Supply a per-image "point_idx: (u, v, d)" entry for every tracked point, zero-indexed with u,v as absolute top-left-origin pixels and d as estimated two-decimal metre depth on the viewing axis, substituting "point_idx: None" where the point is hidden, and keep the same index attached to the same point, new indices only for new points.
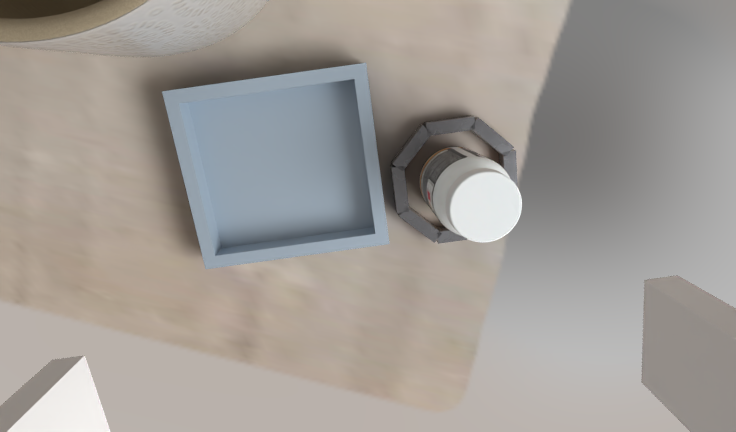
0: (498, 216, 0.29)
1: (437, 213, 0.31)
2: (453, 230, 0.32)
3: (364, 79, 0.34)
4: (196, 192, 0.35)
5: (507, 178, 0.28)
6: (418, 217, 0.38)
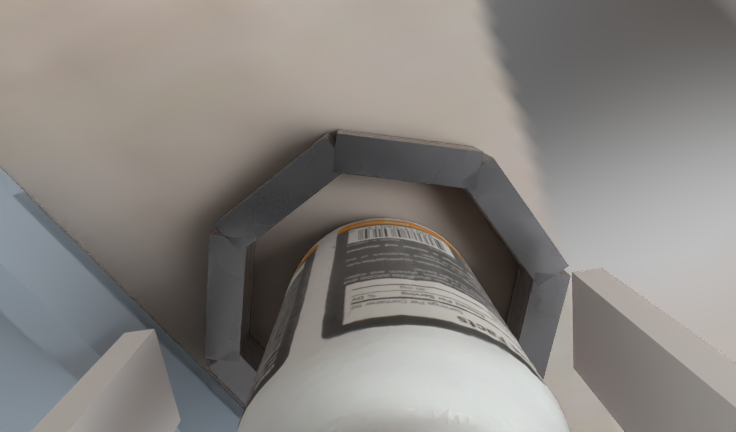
0: None
1: None
2: None
3: None
4: None
5: None
6: None
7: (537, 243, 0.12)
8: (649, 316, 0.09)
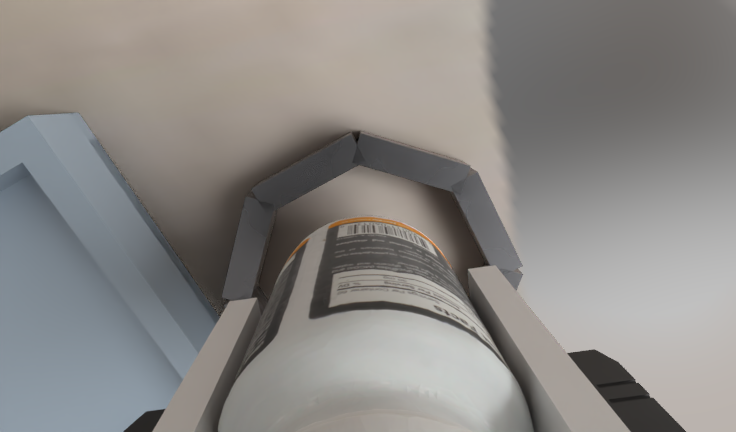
0: None
1: None
2: None
3: (45, 154, 0.14)
4: None
5: None
6: None
7: (501, 244, 0.16)
8: (512, 307, 0.10)
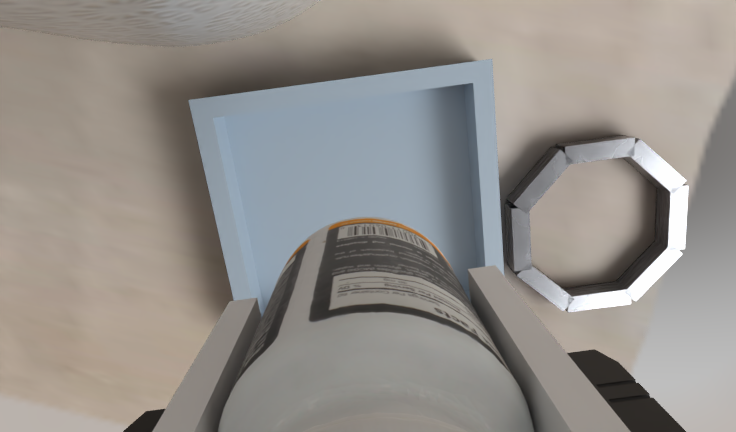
0: None
1: None
2: None
3: (488, 83, 0.23)
4: (234, 245, 0.24)
5: None
6: (543, 277, 0.27)
7: (680, 231, 0.26)
8: (512, 307, 0.10)
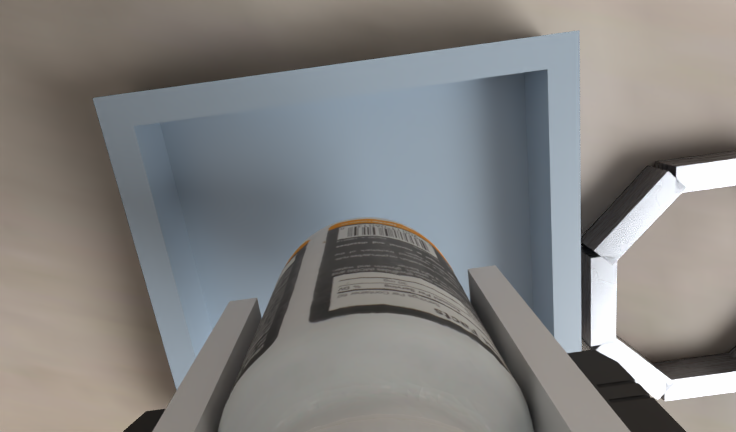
0: None
1: None
2: None
3: (571, 70, 0.14)
4: (176, 318, 0.16)
5: None
6: (632, 353, 0.19)
7: None
8: (512, 307, 0.10)
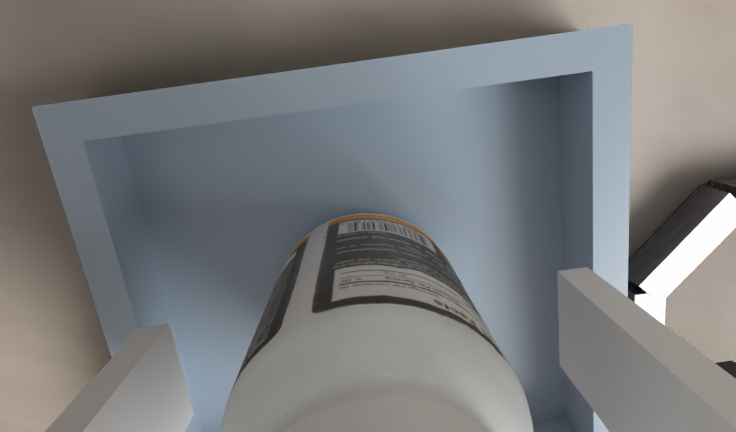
0: None
1: None
2: None
3: (621, 72, 0.12)
4: None
5: None
6: None
7: None
8: (629, 314, 0.09)
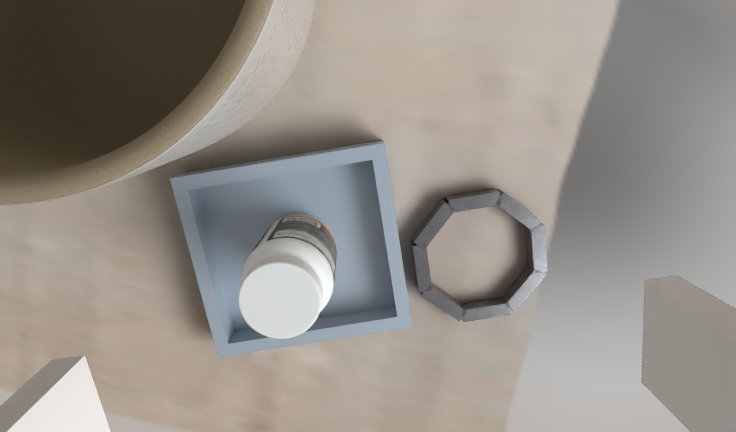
0: (297, 303, 0.26)
1: None
2: None
3: (383, 160, 0.32)
4: (206, 279, 0.33)
5: (281, 263, 0.25)
6: (442, 296, 0.36)
7: (542, 259, 0.35)
8: None
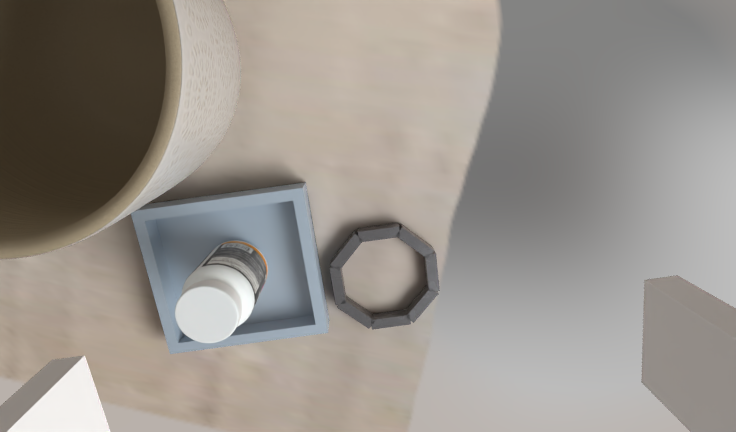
0: (220, 317, 0.34)
1: None
2: None
3: (301, 201, 0.40)
4: (160, 291, 0.41)
5: (207, 287, 0.33)
6: (354, 308, 0.44)
7: (434, 280, 0.43)
8: None
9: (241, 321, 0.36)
